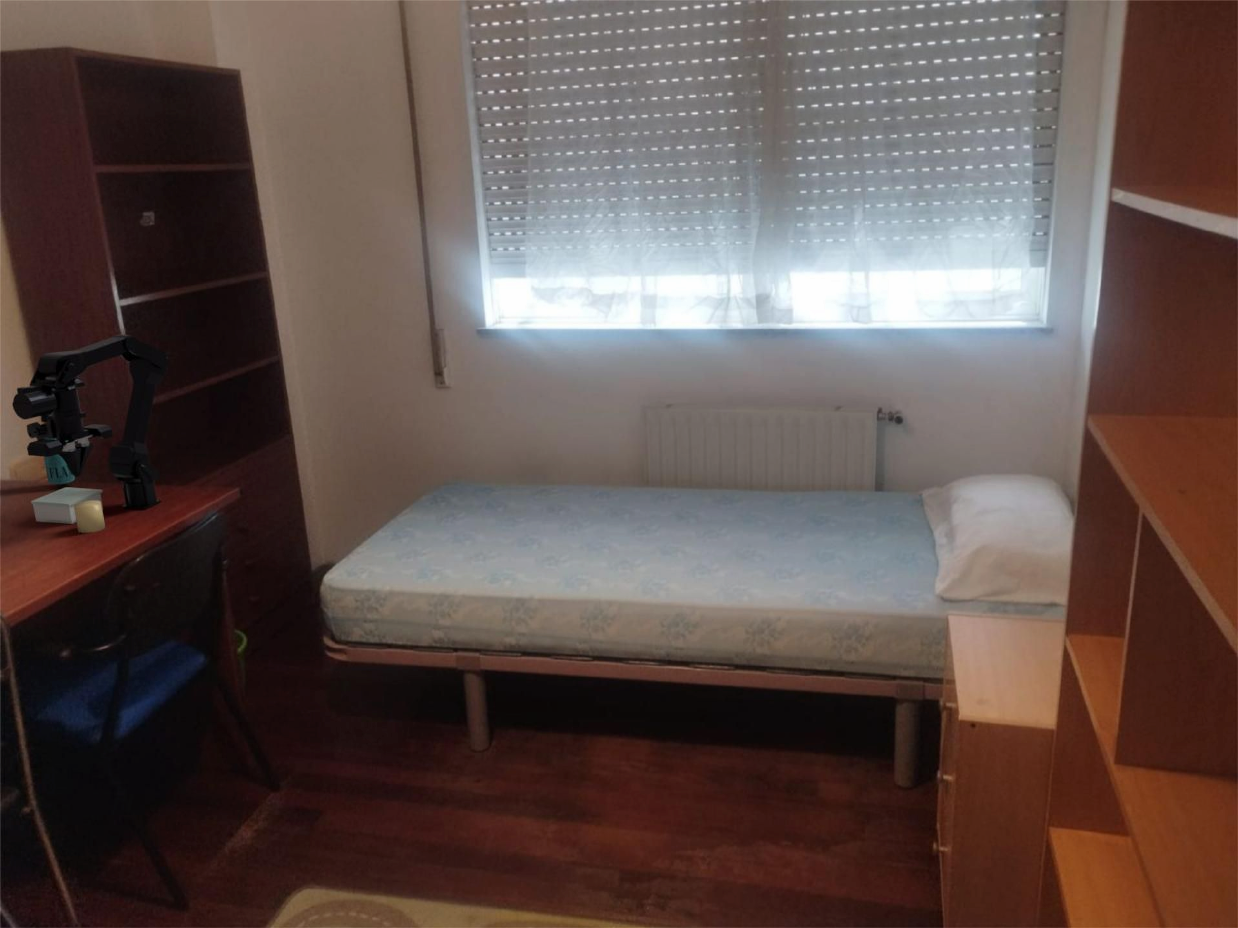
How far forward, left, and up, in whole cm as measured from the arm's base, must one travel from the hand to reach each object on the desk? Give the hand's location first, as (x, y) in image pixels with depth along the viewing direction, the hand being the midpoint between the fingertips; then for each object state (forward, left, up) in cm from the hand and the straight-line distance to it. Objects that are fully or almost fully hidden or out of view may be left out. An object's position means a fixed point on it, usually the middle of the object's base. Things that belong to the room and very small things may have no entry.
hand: (77, 476), depth 219 cm
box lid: (+10, -6, -8) cm, 14 cm away
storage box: (+10, -6, -12) cm, 17 cm away
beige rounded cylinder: (-2, +1, -12) cm, 12 cm away
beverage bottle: (+30, -26, -12) cm, 42 cm away
